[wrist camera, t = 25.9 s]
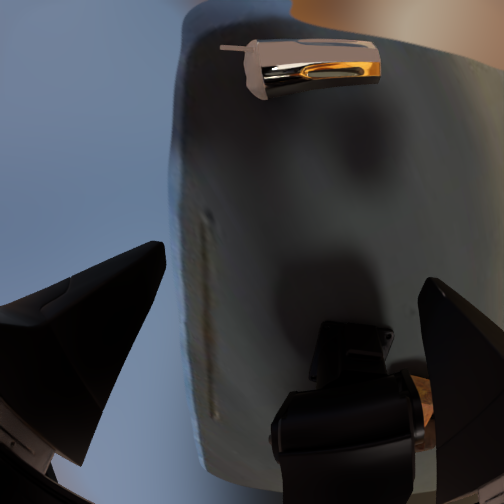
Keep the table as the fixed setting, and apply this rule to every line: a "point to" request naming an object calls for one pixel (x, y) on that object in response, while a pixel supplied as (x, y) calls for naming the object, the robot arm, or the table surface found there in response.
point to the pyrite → (424, 396)
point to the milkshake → (307, 65)
